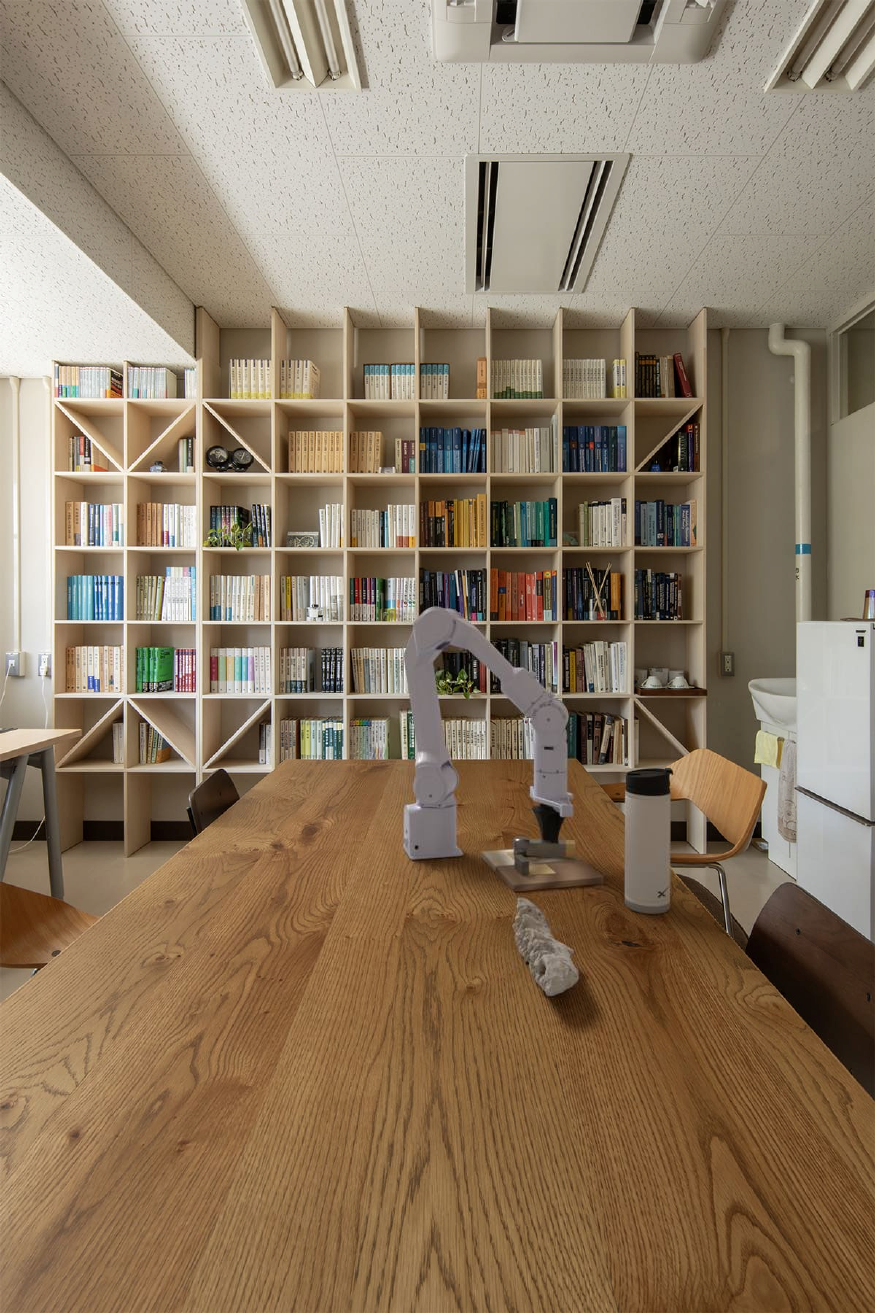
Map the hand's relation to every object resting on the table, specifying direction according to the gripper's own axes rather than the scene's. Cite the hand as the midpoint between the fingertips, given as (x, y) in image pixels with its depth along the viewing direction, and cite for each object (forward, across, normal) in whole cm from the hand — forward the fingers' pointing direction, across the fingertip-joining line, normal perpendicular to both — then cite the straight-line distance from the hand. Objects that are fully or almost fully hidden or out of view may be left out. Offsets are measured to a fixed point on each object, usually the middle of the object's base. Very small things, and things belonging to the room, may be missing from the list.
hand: (550, 847), depth 122 cm
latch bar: (+1, -1, +2) cm, 2 cm away
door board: (+2, -4, +4) cm, 6 cm away
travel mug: (+2, -23, -6) cm, 24 cm away
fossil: (+2, -36, +16) cm, 40 cm away
